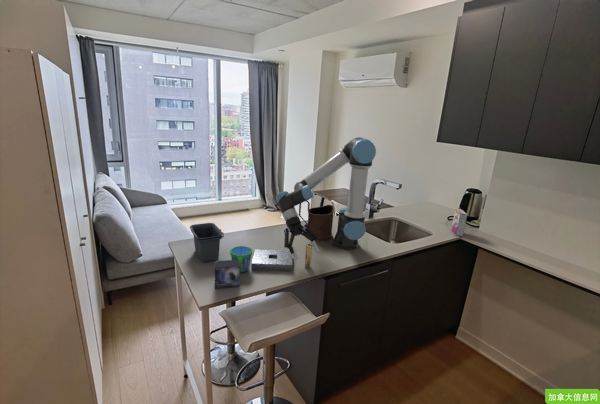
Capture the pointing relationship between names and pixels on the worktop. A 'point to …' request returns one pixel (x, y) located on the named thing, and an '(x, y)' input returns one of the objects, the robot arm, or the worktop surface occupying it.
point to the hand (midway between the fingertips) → (307, 256)
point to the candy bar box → (459, 222)
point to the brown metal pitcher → (320, 221)
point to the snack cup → (242, 256)
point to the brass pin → (308, 256)
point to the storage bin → (207, 240)
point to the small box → (227, 274)
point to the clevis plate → (272, 260)
